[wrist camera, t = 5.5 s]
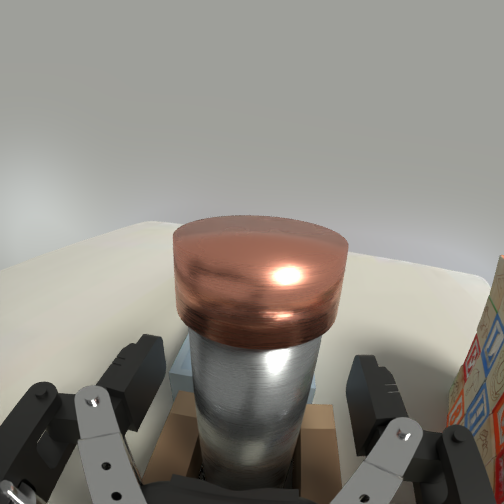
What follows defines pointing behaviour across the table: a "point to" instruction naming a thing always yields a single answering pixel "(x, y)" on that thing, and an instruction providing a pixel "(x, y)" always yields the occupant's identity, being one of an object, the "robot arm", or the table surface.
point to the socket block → (304, 457)
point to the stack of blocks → (485, 387)
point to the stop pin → (254, 336)
